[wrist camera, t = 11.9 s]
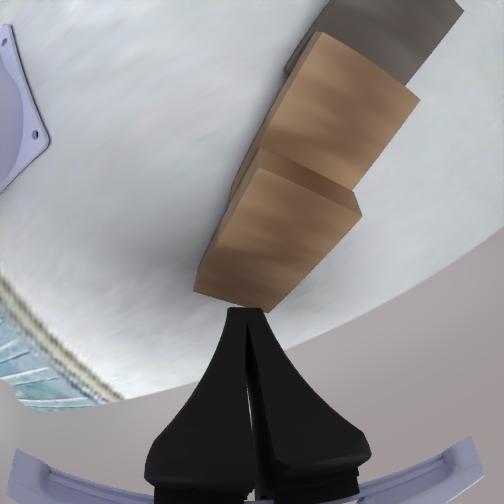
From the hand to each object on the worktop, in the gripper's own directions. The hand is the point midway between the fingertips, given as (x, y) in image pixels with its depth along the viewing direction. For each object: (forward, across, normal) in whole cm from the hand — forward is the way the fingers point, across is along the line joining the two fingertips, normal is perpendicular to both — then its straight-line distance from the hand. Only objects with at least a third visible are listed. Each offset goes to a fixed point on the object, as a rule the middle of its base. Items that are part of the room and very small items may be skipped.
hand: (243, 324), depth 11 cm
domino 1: (+4, -1, -4) cm, 6 cm away
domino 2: (+4, 0, +1) cm, 4 cm away
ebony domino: (+4, -3, -9) cm, 11 cm away
